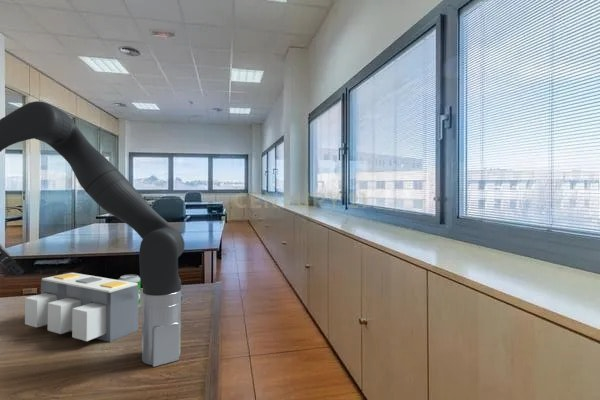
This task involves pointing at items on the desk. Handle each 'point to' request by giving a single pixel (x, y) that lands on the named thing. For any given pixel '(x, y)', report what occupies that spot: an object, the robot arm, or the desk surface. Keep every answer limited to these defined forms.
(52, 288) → the button panel
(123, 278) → the soda can
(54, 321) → the middle button
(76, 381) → the desk surface
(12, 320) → the desk surface
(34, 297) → the white rectangular block
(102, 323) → the near button
